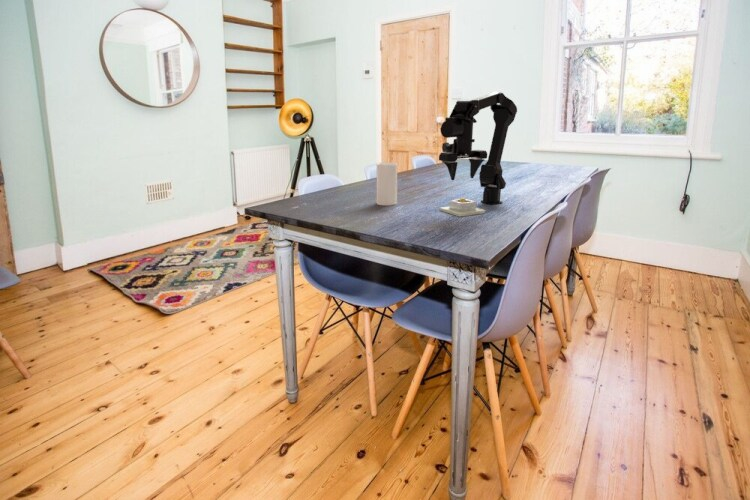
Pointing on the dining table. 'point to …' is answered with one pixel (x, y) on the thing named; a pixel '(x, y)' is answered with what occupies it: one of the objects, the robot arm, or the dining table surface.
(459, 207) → the link
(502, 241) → the dining table surface
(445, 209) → the keeper
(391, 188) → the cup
